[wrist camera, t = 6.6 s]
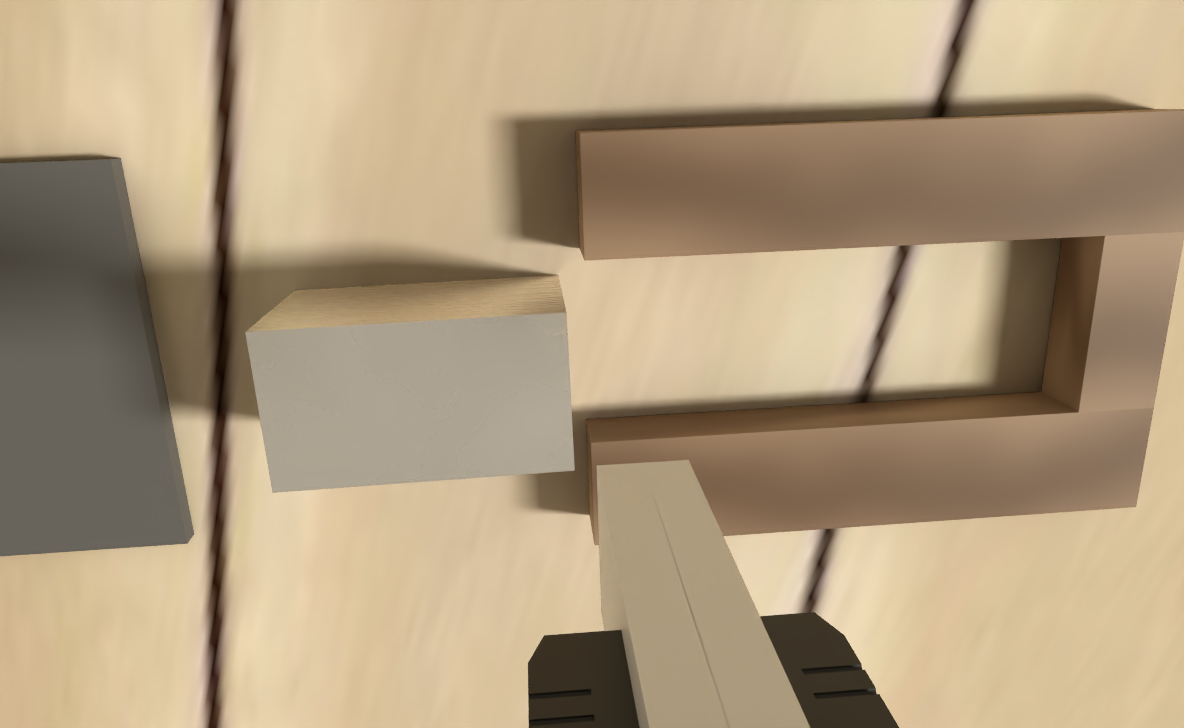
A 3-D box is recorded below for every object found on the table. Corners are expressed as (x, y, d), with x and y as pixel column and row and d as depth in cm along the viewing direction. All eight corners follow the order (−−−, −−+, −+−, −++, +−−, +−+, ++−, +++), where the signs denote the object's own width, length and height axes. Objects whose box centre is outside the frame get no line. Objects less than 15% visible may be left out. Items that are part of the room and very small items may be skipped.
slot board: (575, 130, 25) (579, 132, 23) (1156, 109, 26) (1206, 109, 24) (589, 515, 29) (594, 545, 27) (1096, 481, 30) (1135, 506, 28)
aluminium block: (296, 289, 26) (245, 332, 21) (558, 274, 26) (566, 312, 21) (316, 423, 27) (272, 492, 22) (565, 406, 27) (574, 470, 23)
